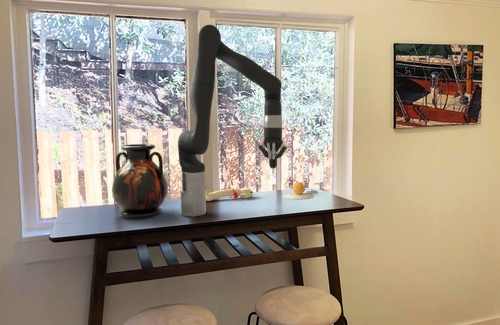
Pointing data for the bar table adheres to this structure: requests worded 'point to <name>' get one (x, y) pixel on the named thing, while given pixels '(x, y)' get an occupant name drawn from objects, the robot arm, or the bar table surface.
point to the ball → (298, 188)
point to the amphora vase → (139, 183)
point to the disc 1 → (298, 196)
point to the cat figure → (229, 193)
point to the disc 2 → (311, 192)
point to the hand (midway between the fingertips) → (273, 168)
